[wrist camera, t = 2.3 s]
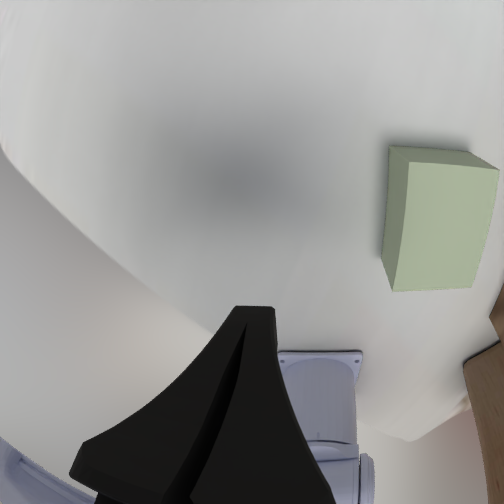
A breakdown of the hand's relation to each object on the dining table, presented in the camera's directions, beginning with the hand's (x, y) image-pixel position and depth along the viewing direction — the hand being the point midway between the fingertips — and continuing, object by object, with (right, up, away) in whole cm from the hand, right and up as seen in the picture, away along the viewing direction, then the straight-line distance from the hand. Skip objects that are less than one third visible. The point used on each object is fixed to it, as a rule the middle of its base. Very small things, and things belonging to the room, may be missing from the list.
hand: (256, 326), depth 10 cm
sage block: (+11, +6, +7) cm, 15 cm away
